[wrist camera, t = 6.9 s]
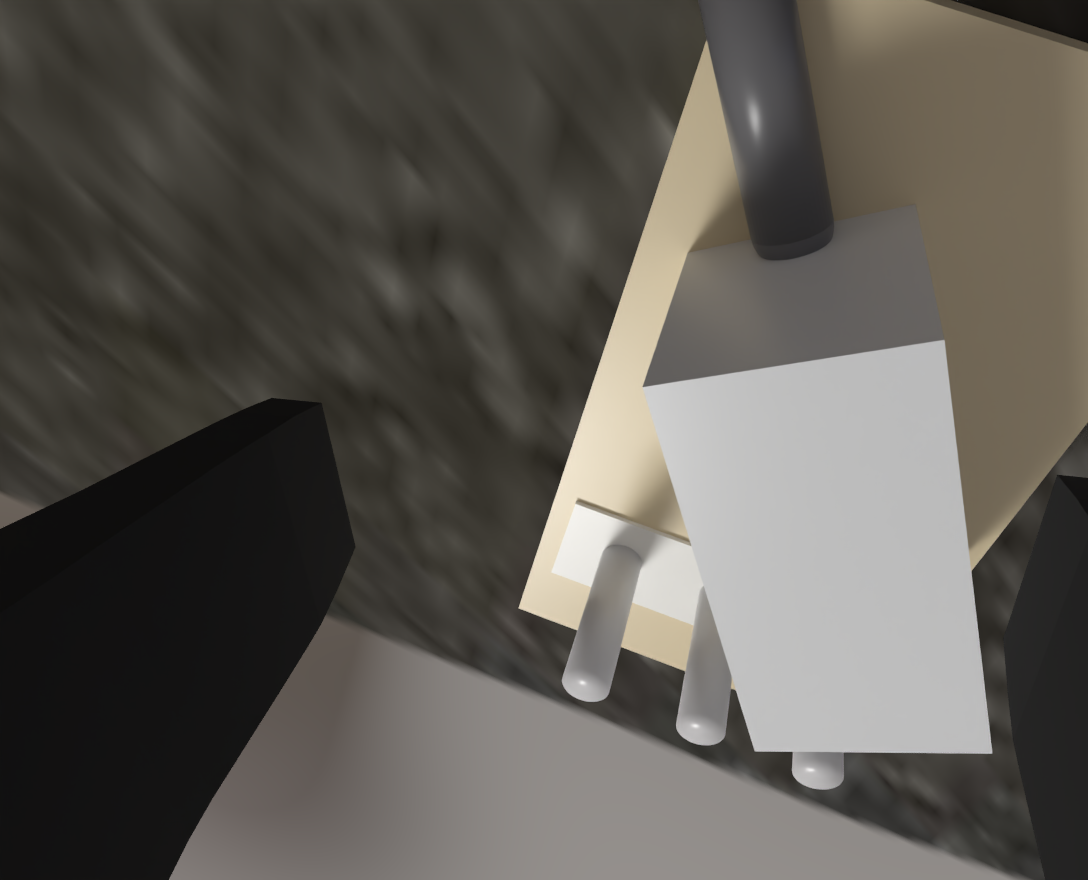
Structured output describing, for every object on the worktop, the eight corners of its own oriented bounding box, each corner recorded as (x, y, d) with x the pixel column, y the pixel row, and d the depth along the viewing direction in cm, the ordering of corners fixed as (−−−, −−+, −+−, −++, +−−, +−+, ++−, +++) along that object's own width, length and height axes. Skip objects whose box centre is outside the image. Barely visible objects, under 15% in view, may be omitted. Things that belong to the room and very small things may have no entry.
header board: (1292, 107, 14) (1475, 222, 10) (845, 700, 24) (847, 878, 20) (744, -65, 14) (711, -22, 11) (529, 582, 24) (469, 731, 20)
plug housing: (865, -206, 12) (879, -217, 8) (959, 562, 19) (993, 758, 15) (596, -101, 14) (501, -68, 10) (770, 575, 21) (756, 755, 17)
